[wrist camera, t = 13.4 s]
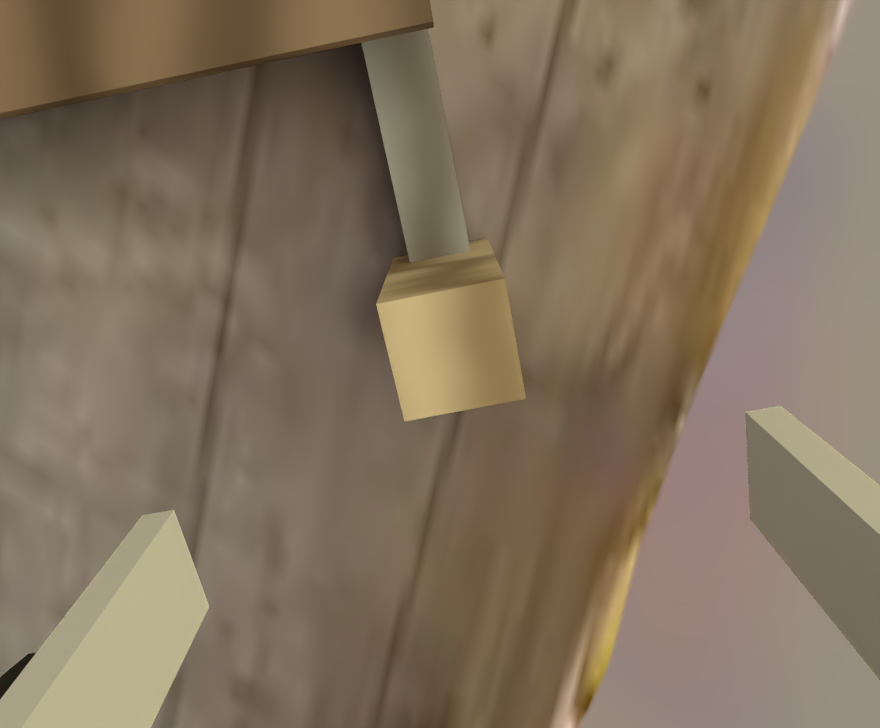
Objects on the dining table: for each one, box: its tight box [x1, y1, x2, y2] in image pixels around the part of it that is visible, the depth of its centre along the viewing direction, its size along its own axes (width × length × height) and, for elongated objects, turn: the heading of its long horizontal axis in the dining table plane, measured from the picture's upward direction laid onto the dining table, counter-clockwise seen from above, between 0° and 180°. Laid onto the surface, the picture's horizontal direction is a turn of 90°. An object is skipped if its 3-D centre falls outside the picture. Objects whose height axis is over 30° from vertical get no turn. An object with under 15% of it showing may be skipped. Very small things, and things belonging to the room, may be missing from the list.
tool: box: [362, 29, 526, 421], centre depth 28 cm, size 5×22×10 cm, turn 12°
